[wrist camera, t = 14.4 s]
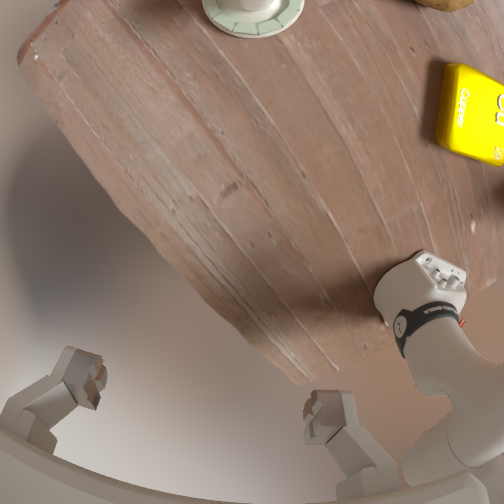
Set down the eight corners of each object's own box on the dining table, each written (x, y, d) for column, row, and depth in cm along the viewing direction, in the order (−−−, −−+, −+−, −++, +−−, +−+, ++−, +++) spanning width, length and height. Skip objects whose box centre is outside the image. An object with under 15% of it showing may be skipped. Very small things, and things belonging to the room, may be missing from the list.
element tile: (442, 59, 31) (458, 59, 27) (501, 88, 31) (518, 92, 27) (431, 143, 39) (446, 150, 35) (489, 162, 39) (505, 170, 35)
